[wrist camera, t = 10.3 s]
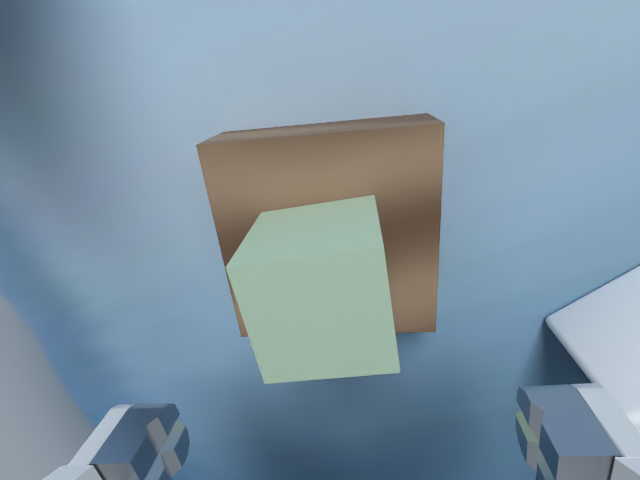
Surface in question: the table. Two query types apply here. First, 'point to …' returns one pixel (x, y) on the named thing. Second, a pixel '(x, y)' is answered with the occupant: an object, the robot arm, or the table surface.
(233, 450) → the table surface
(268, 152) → the walnut block
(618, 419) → the robot arm
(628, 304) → the medicine bottle
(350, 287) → the sage green block
